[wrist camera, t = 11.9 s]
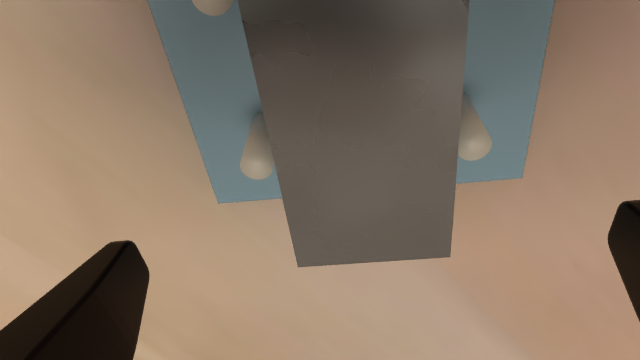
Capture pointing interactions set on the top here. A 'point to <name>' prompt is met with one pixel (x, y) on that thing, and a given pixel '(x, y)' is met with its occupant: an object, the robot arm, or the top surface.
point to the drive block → (362, 122)
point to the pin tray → (246, 111)
